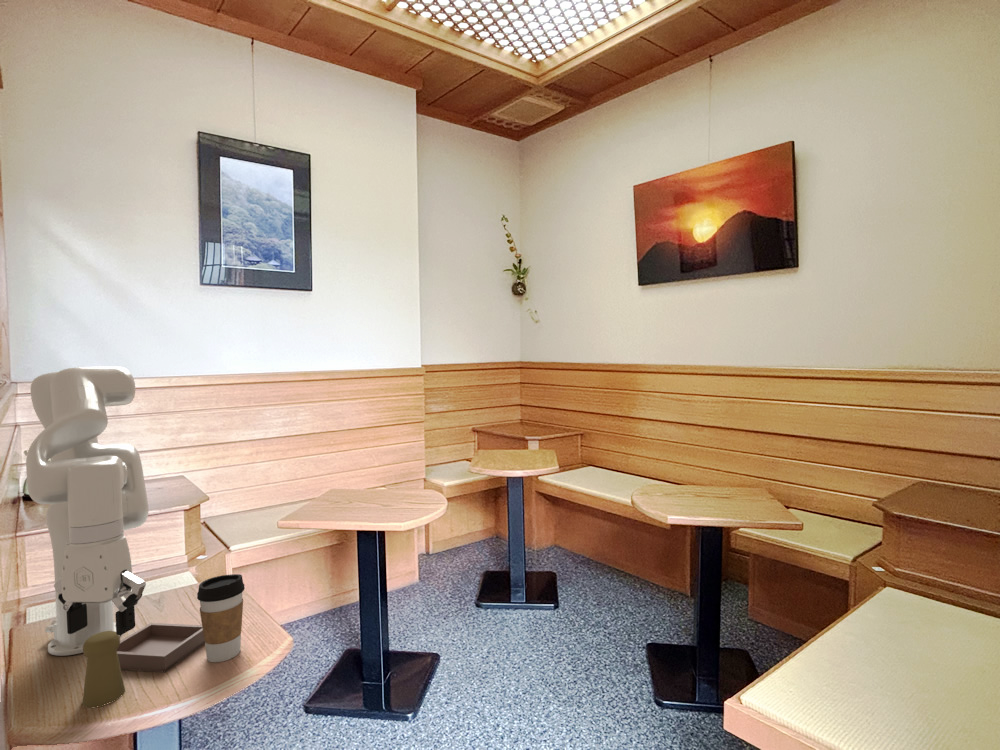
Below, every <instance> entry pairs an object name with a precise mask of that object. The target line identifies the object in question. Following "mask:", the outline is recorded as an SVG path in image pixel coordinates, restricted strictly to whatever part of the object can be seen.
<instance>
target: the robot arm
mask: <svg viewBox="0 0 1000 750" xmlns="http://www.w3.org/2000/svg"><path fill="white" fill-rule="evenodd" d="M135 382H136V381H135V379H134V376H133V375H132V373H131V371H129V370H128V369H127V368H125V367H122V366H83V367H82V366H81V367H80V366H79V367H69V368H64V369H62V370H60V371H54V372H48V373H44V374H41V375H38V376H36V377H35V378H34V379H33V380H32V382H31V384H30V399H31V403H32V407H33V409H34V413H35V415H36V416H37V418H38V421H39V422H40V424H41V425H42V426H43V428H44V429H43V430H42V431H41V432H40V433H39V434H38V435H37V436H36V437H35V439H34V440H33V441H32V442H31V444H30V446H29V447H28V451H27V454H26V458H25V466H26V467H25V468H26V485H27V486H26V487H27V491H28V494H29V497H30V498H31V500H32V501H33V502H34V503H37V504H38V505H39V504H40V505H49V506H48V507H47V509H46V515H45V518H46V526H47V531H48V534H49V538H50V543H51V549H52V556H53V557H52V558H53V566H54V567H53V568H54V570H53V571H54V573H53V574H54V584H53V587H54V594H55V596H54V597H55V615H56V617H55V618H53V619H52V621H51V623H50V625H49V624H48V625H47V626H46V627H45V628H44V631H45V633H53V639H51V640H50V642H49V643H48V645H47V652H48V654H50V655H52V656H56V657H58V656H60V657H61V656H66V657H67V656H72V655H78V654H79V655H80V654H82V653H83V645H84V643H85V641H86V640H87V639H88V638H89V637H91V636H92V635H94V634H97V633H100V632H103V631H115V632H116V634H117V635H119V637H120V636H122V635H124V634H125V633H127V632H129V631H132V630H133V629H134V628H135V627H136V616H135V615H136V614H135V610H136V609H135V606H136V605H138V603H139V601H140V599H141V598H142V596H143V592H144V590H145V588H146V585H147V583H146V581H145V580H144V579H142V578H140V577H138V576H136V575H134V574H133V567H132V559H131V557H132V556H131V553H130V548H129V543H128V540H127V537H126V536H125V532H124V531H127V530H131V529H136V528H139V527H141V526H142V525H144V524H145V522H146V521H147V520H148V516H149V501H148V496H147V490H146V483H145V476H144V470H143V464H142V460H141V456H140V453H139V451H138V449H137V448H136V447H135V446H133V445H131V444H129V443H117V444H115V443H114V444H104V445H101V444H99V441H98V437H99V436H100V435H101V434H102V433H103V432H104V431H105V430H106V429H107V427H108V423H109V421H108V420H109V419H108V414H107V411H106V407H115V406H117V407H118V406H119V407H120V406H126V405H129V404H130V403H132V401H134V399H135V395H136V383H135ZM49 460H50V461H49ZM122 597H124V599H125V600H123V599H122ZM114 605H115V607H116V608H117V610H118V611H116V612H115V621H114ZM83 654H84V653H83Z"/></svg>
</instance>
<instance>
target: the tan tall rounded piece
mask: <svg viewBox="0 0 1000 750" xmlns="http://www.w3.org/2000/svg"><path fill="white" fill-rule="evenodd" d="M120 641H121V639H120V636H119V635H117V634H116V632H115V631H103V632H100V633H97V634H94V635H92V636H91V637H89V638H88V639H87V640H86V641H85V643H84V645H83V656H85V658H87V659H86V666H85V667H86V668H85V669H86V670H85V675H84V677H85V678H84V687H83V694H82V705H81V706H83V707H84V708H86V707H87V708H86V709H93V708H92V707H95V708H98V707H97V706H100V707H103V706H105V705H104V704H106V705H108V704H107V703H109V702H111V703H112V701H113V702H115V701H117V700H118V699H120V698H121V697H122V696H123V695H124V694H125V692H126V688H125V683H124V678H123V673H122V669H121V668H120V664H119V659H118V654H117V648H118V647H119V644H120ZM121 695H122V696H121ZM120 696H121V697H120ZM119 697H120V698H119ZM117 698H118V699H117ZM116 699H117V700H116ZM114 700H115V701H114ZM109 704H110V703H109ZM102 705H103V706H102Z"/></svg>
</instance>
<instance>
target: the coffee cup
mask: <svg viewBox="0 0 1000 750" xmlns="http://www.w3.org/2000/svg"><path fill="white" fill-rule="evenodd" d="M243 580H244V579H243V575H242V574H239V573H238V574H236V573H235V574H231V573H230V574H224V575H222V574H221V575H218V576H213V577H211V578H208V579H205V580H203V581H202V582H200V584H199V585H198V591H197V592H196V593H197V594H196V596H197V597H196V599H197V600H198V601H199V605H200V607H199V614H200V620H201V625H202V628H203V634H204V641H205V644H204V645H205V652H206V659H207V661H208V662H210V663H221V662H225V661H228V660H231V659H233V658H235V657H236V656H237V655H239V654H240V653H241V647H242V646H241V643H242V642H241V640H242V626H243V625H242V624H243V612H244V611H243V609H244V599H243V592H244V591H245V583H244V581H243Z"/></svg>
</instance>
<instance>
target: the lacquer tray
mask: <svg viewBox="0 0 1000 750" xmlns="http://www.w3.org/2000/svg"><path fill="white" fill-rule="evenodd" d="M203 645H205V641H204V634H203V628H202V624H183V623H180V624H179V623H164V622H162V623H160V622H150V623H149V624H147V625H145V626H144V627H141V628H140V629H138V630H136V631H135V632H133V633H132V634H129V635H128V636H126V637H125V638H123V639H120V644H119V647H118V648H117V654H118V659H119V664H120V668H121V671H123V670H124V671H138V672H139V671H140V672H142V671H143V672H152V673H153V672H155V673H157V672H158V673H167V671H168V672H169V670H170V669H172V668H173V667H175V666H177V665H178V664H179V663H180V662H182V661H183V660H185V659H186V658H187V657H188V656H190V655H191V654H192V653H194V652H195V651H197V650H198V649H199V648H201V647H202V646H203Z"/></svg>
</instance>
